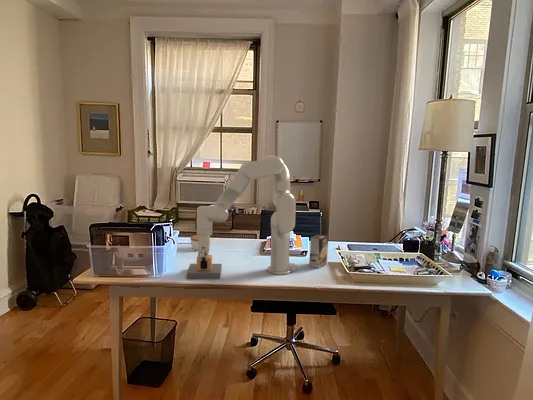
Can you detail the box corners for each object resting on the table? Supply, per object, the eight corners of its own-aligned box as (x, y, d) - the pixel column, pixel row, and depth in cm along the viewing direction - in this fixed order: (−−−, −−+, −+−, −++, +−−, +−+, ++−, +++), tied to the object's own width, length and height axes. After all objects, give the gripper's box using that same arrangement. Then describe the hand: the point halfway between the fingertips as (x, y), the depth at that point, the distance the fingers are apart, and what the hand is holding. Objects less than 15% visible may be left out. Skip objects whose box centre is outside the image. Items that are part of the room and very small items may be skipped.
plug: (212, 269, 199) (212, 254, 198) (211, 274, 194) (211, 258, 192) (198, 269, 199) (198, 254, 198) (196, 274, 193) (196, 258, 192)
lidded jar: (187, 251, 233) (187, 235, 232) (194, 246, 244) (194, 231, 242) (204, 252, 231) (204, 237, 230) (211, 247, 241) (211, 233, 240)
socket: (221, 269, 204) (221, 263, 203) (220, 279, 190) (220, 273, 190) (190, 269, 203) (190, 263, 202) (186, 278, 189) (186, 273, 189)
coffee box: (319, 268, 208) (320, 239, 206) (308, 266, 212) (310, 237, 209) (327, 264, 216) (328, 236, 213) (316, 262, 220) (318, 234, 217)
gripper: (198, 227, 201) (198, 260, 204) (194, 235, 184) (194, 272, 187) (213, 227, 202) (213, 261, 205) (210, 235, 185) (210, 272, 188)
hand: (204, 266), depth 196 cm, fingers closed on plug, 6 cm apart
